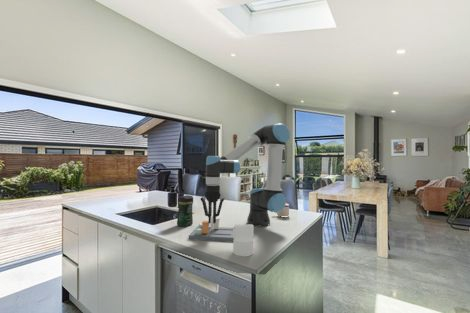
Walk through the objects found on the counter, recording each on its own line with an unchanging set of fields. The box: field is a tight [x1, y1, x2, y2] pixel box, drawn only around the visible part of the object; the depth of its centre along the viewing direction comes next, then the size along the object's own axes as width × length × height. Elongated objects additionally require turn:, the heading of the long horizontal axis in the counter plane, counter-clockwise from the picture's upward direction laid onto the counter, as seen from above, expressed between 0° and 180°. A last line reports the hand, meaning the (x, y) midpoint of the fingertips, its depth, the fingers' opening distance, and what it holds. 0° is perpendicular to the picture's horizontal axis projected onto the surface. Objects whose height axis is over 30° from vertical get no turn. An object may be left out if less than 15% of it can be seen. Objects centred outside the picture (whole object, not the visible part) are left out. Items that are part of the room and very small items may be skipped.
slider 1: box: [201, 220, 210, 234], centre depth 127 cm, size 3×3×6 cm
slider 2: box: [214, 216, 221, 229], centre depth 135 cm, size 3×3×6 cm
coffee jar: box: [176, 194, 194, 228], centre depth 150 cm, size 10×8×19 cm
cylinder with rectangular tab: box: [232, 223, 255, 257], centre depth 107 cm, size 9×9×12 cm
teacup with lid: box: [274, 202, 290, 217], centre depth 179 cm, size 12×9×12 cm
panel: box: [188, 225, 234, 243], centre depth 131 cm, size 24×18×4 cm
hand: (212, 229), depth 126 cm, fingers closed
